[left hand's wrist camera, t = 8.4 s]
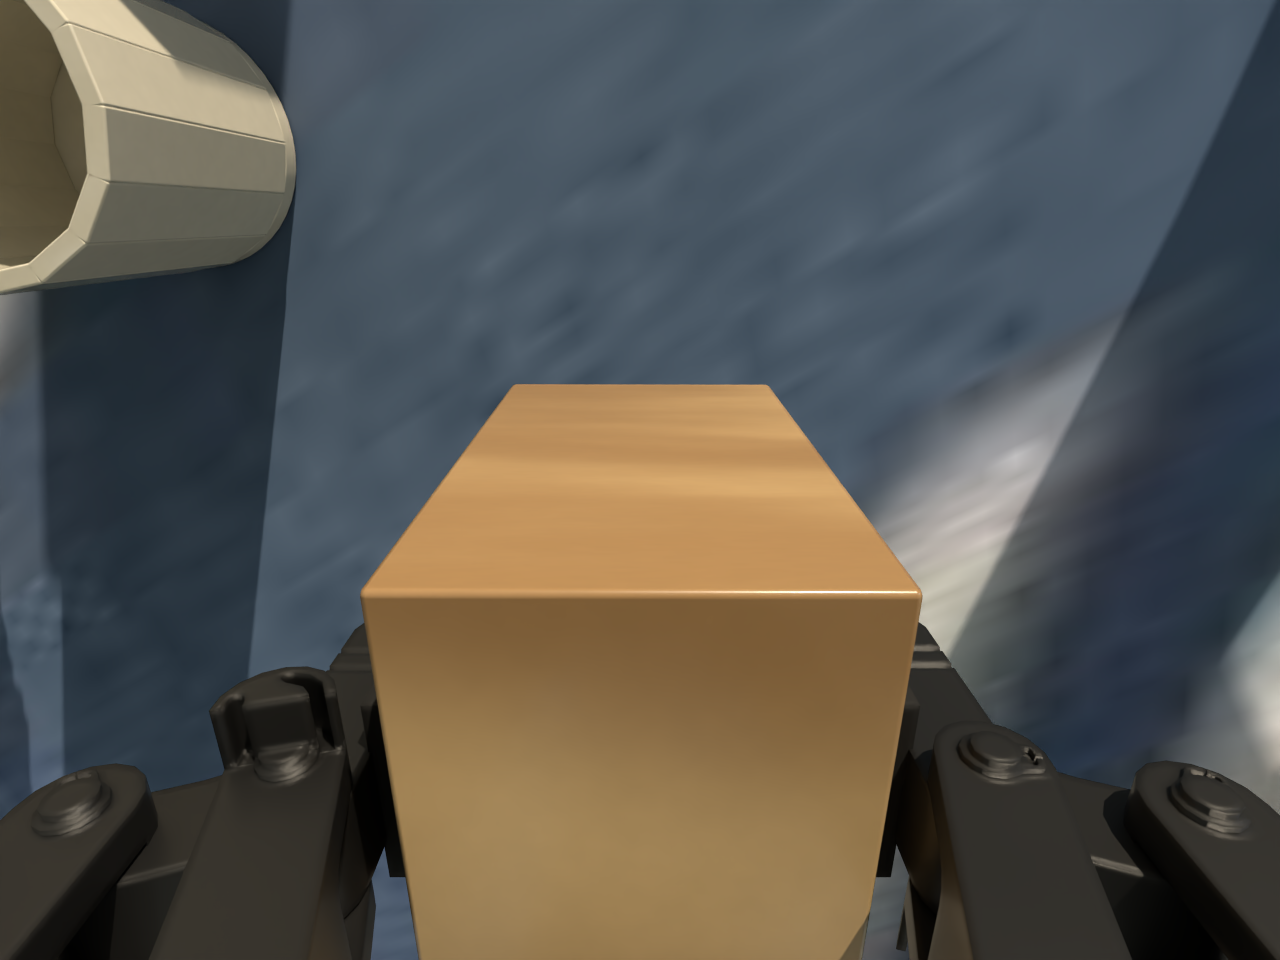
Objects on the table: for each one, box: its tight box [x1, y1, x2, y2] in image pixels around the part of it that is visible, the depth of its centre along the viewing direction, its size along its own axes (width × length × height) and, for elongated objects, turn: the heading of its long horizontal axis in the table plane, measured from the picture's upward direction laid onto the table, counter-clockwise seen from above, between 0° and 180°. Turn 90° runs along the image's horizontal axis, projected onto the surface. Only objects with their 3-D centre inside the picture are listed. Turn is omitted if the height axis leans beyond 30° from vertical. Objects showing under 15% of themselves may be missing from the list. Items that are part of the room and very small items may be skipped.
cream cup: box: [0, 0, 296, 295], centre depth 19 cm, size 8×8×9 cm
